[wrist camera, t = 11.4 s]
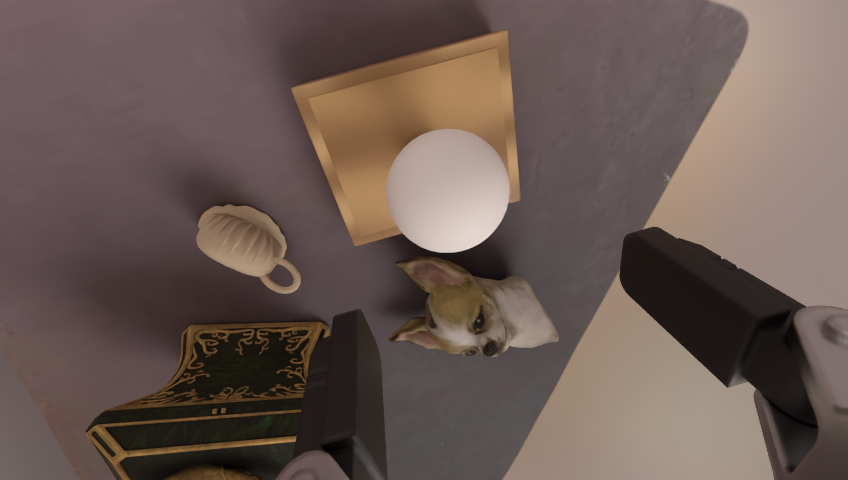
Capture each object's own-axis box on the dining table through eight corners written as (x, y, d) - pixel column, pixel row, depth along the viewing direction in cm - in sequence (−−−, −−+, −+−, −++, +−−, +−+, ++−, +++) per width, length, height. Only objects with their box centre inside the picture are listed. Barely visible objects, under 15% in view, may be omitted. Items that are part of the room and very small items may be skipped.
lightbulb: (453, 195, 26) (505, 281, 16) (374, 185, 24) (381, 272, 15) (474, 113, 23) (552, 159, 13) (386, 96, 21) (403, 134, 12)
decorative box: (345, 312, 34) (327, 579, 17) (346, 376, 38) (332, 634, 21) (118, 317, 30) (-204, 669, 13) (149, 387, 34) (-56, 712, 18)
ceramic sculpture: (549, 394, 31) (388, 395, 29) (517, 328, 38) (388, 324, 36) (590, 305, 26) (398, 298, 24) (544, 249, 33) (396, 240, 31)
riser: (298, 83, 23) (289, 88, 20) (492, 31, 23) (508, 29, 20) (355, 229, 29) (354, 247, 26) (507, 187, 29) (521, 200, 27)
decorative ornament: (221, 187, 25) (190, 217, 21) (315, 243, 29) (306, 280, 25) (196, 224, 27) (161, 260, 22) (290, 274, 30) (276, 314, 26)
